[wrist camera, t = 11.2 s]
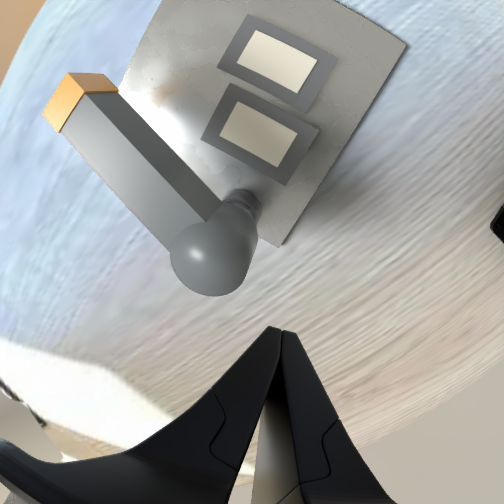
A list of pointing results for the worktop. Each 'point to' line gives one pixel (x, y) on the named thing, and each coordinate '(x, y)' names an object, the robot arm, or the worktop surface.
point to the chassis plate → (216, 81)
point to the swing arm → (155, 184)
